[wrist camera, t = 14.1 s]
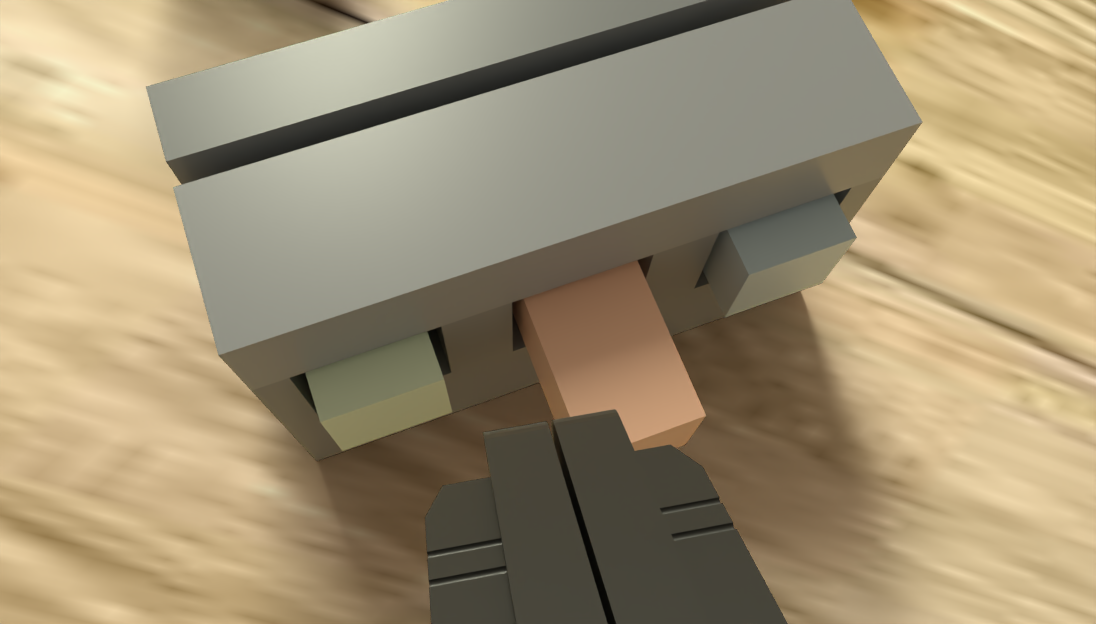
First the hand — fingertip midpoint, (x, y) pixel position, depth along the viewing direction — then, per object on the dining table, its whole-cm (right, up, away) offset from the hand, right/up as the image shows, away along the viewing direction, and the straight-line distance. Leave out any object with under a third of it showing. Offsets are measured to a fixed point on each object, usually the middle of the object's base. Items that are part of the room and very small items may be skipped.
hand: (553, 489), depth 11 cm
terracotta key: (+2, 0, +27) cm, 27 cm away
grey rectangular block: (+8, +6, +30) cm, 31 cm away
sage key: (-7, +1, +27) cm, 28 cm away
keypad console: (-1, +4, +35) cm, 36 cm away
